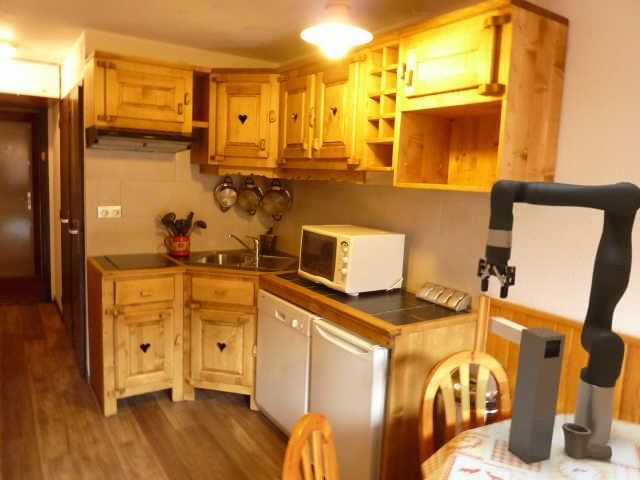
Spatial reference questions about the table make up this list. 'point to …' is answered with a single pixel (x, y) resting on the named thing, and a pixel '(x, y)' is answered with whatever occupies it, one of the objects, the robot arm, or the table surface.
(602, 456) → the pipe
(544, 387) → the grey tall rectangular block
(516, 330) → the block
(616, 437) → the table surface
